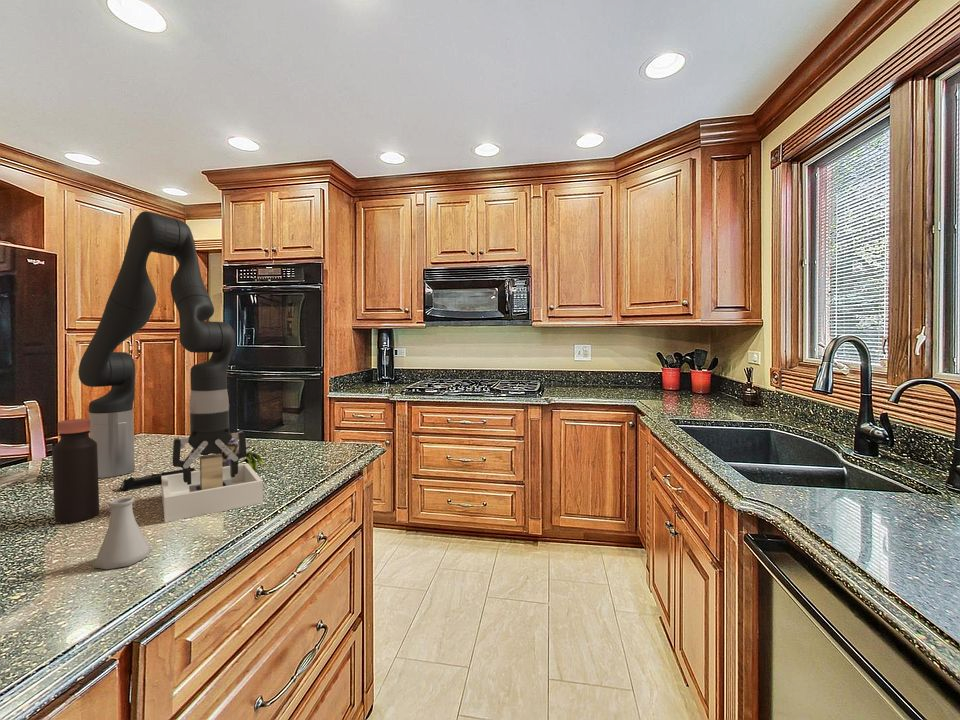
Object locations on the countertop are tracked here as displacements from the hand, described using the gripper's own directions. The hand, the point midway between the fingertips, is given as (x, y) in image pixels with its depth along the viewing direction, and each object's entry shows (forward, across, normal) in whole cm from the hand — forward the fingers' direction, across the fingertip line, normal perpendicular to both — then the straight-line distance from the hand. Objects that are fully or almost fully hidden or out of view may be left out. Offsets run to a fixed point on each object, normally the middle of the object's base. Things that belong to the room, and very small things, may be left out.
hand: (211, 480), depth 100 cm
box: (+5, 0, 0) cm, 5 cm away
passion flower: (+5, -9, -23) cm, 25 cm away
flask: (+5, +15, +23) cm, 28 cm away
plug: (+4, 0, 0) cm, 4 cm away
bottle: (+5, +23, -5) cm, 24 cm away
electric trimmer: (+5, +10, -22) cm, 25 cm away
